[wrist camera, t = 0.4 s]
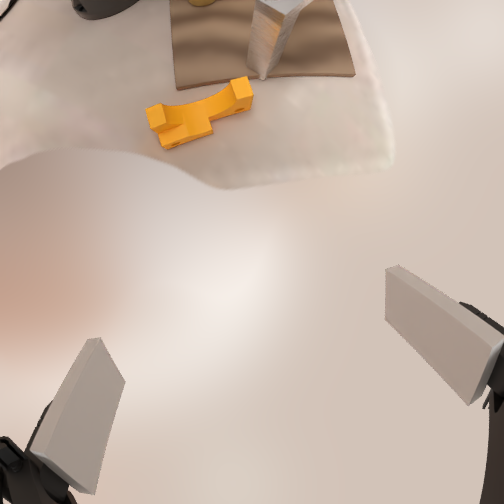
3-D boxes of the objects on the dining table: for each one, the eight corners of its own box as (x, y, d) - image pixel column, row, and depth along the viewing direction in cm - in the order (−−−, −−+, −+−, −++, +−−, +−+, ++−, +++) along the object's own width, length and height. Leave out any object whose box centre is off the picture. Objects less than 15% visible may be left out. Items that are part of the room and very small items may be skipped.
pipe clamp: (167, 149, 34) (154, 142, 28) (159, 121, 33) (145, 109, 27) (254, 121, 34) (258, 108, 28) (244, 93, 33) (246, 75, 27)
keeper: (263, 81, 33) (285, 15, 16) (245, 69, 32) (255, -2, 15) (311, 33, 31) (352, -33, 14) (295, 22, 30) (327, -47, 14)
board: (170, -15, 27) (169, -19, 26) (319, -23, 28) (321, -27, 26) (177, 90, 32) (176, 87, 31) (352, 77, 33) (355, 74, 32)
